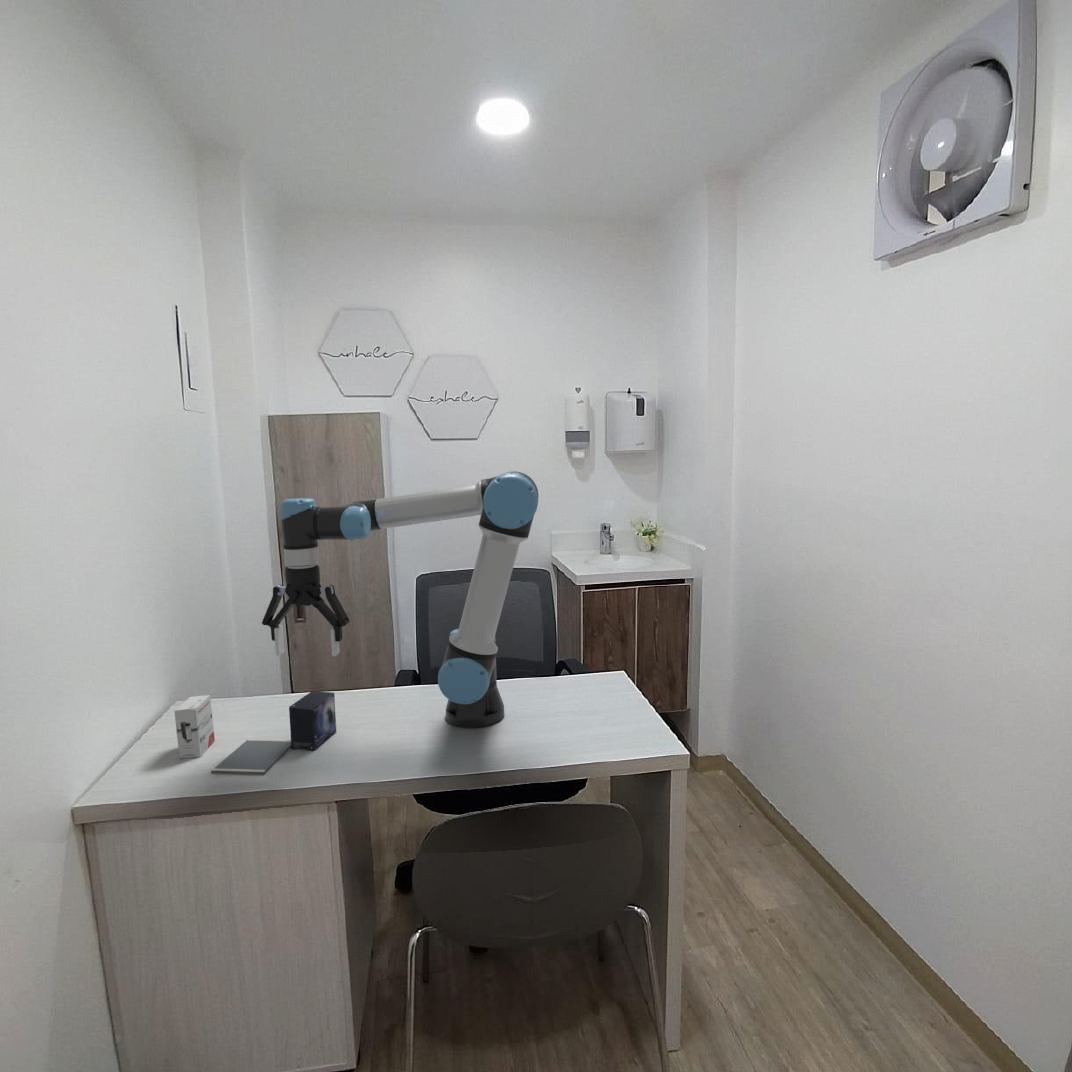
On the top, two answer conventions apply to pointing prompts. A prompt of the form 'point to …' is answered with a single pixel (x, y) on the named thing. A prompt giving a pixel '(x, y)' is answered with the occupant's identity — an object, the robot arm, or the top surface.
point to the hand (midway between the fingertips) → (308, 654)
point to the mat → (253, 757)
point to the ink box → (194, 726)
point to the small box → (312, 720)
